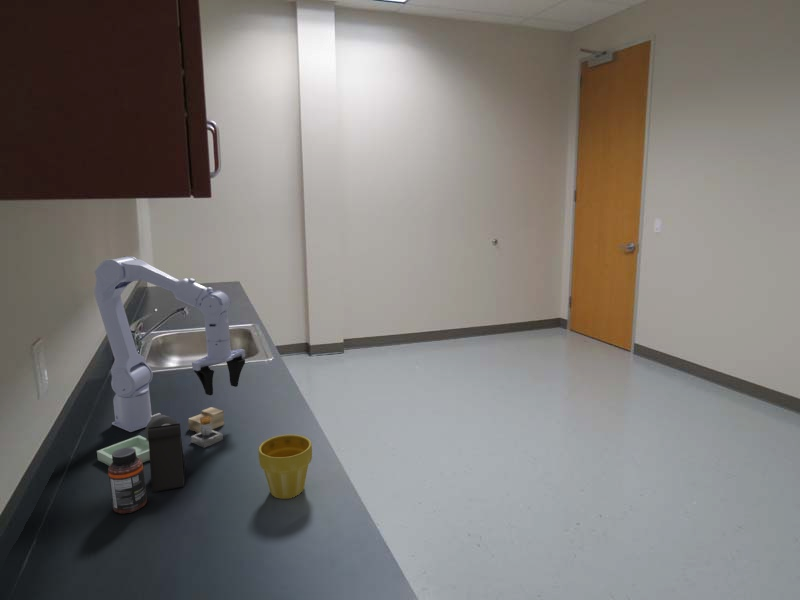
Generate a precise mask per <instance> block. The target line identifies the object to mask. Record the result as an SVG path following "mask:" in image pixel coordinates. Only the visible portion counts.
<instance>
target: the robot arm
mask: <svg viewBox="0 0 800 600" xmlns="http://www.w3.org/2000/svg"><path fill="white" fill-rule="evenodd" d="M94 275H95V279H96V281H95V285H94V286H95V287H94V296H95V300H96V303H97V307H98V309H99V313H100V317H101V319H102V323H103V326H104V329H105V332H106V336H107V339H108V343H109V345H110V348H111V352H112V355H113V358H114V360H113V361H114V362H113V364H112V365H111V369H110V374H111V382H110V384H111V389H112V390H113V392H114V396H113V400H112V402H113V403H112V404H113V410H114V411H113V412H114V421H113V422H111V424H112V425H113V426H115V427H117V428H120V429H122V430H125V431H127V432H129V433H133V432H135V431H138V430H141V429H144V428H146V426H147V424H148V423H149V421H150V416H152V405H151V395H150V383H151V381H152V380H153V376H154V373H153V370H152V368H151V367H150V366H149V365H148V363H147V362H146V358H145V357H144V356H143V355H141V354H140V353H138V350H137V346H136V344H135V340H134V336H133V334H132V330H131V327H130V323H129V320H128V316H127V313H126V310H125V307H124V302H123V301H122V297H121V295H122V294H123V293H124V291H125V290H126V288H127V287H128V286H129V285H130V284H132V283H133V282H136V281H138V282H139V281H144V282H145V283H149V284H152V285H154V286H155V287H159V288H161V289H164V290H167V291H170V292H172V293H173V296H174V298H175V299H176V300H177V301H179V302H182V303H184V304H186V305H189V306H191V307H193V308H196V309H197V310H199V311H200V313H201V314H202V315H203V317H204V329H205V340H206V353H207V354H206V355H207V356H204V357H201V358H200V359H197V360H194V361H192V362H191V367H192V370H193V371H194V373H195V375H196V376H197V377H198V379H199V381H200V382H201V385H202V387H203V389H204V393H205V395H207V396H213V393H214V386H213V381H214V380H213V379H214V373H215V370H213V369H211V368H210V367H213V366H217V365H219V364H221V363H222V364H224V363H225V362H226V365H227V368H228V374H229V383H230V386H231V387H235V388H237V387H238V386H239V380H240V376H241V372H242V370H243V368H244V365H245V364H246V359H245V357H246V350H245V349H242V348H238V349H234V350H232V349H231V337H230V336H231V335H230V334H231V333H230V324H229V323H230V322H229V311H228V310H229V309H230V306H231V303H232V302H231V298H230V295H228V294H227V293H226V292H224V291H223V290H222V289H220V290H219V289H217V290H213V289H214V288H213V287H210V286H209V287H207V286H204V285H202V284H200V283H198V282H196V279H194V278H193V277H191V278H189V279H188V278H187V277H185V278H183V279H178V278H175V277H173V276H172V275H171V274H168V273H167V272H164V271H162V270H160V269H158V268H157V267H154V266H152V265H150V264H149V263H147V262H146V261H144V260H142V259H139V258H138V259H137V258H136V257H135V256H132V255H131V256H130V255H126V256H123V257H118V258H114V259H113V258H112V259H111V258H109V259H105V260H103V261H102V262H100V263H99V265H98V266H97V268H96V269H95V270H94Z"/></svg>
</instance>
